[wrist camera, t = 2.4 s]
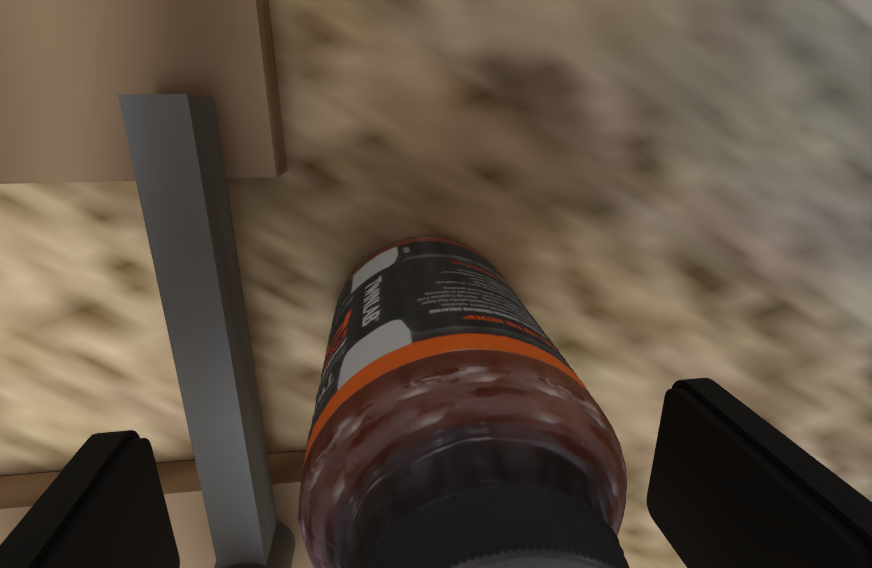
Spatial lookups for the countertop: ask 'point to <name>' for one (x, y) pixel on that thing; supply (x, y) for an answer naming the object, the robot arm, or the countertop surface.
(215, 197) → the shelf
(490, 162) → the countertop surface
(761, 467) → the robot arm
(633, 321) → the countertop surface
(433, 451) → the supplement bottle
